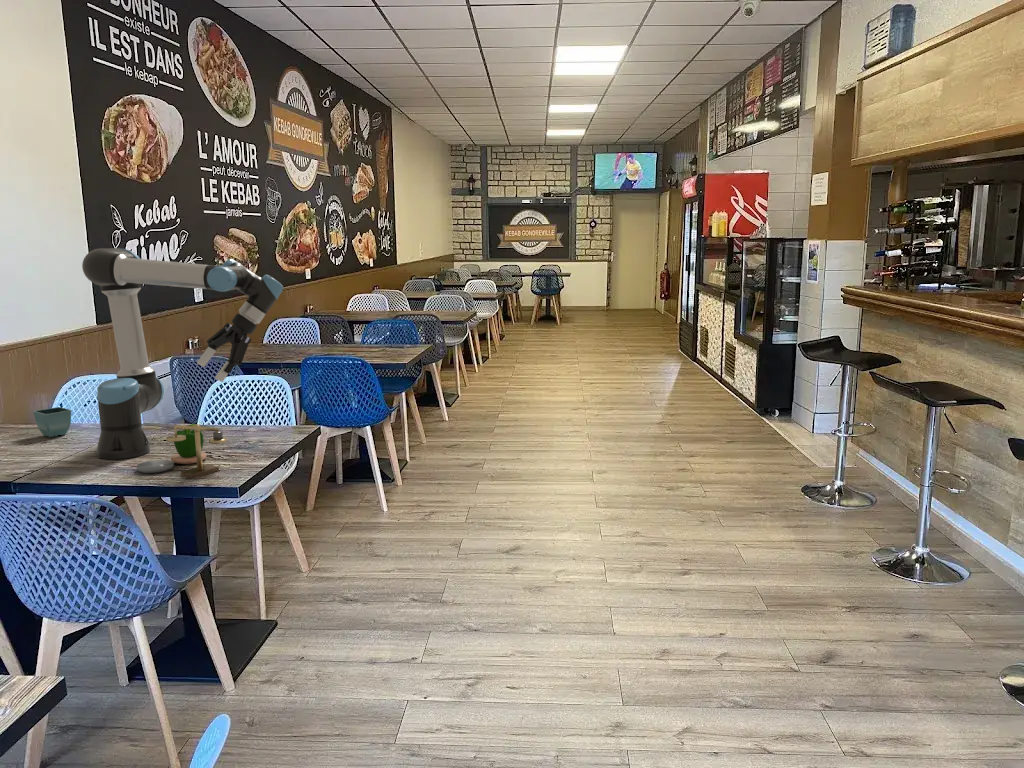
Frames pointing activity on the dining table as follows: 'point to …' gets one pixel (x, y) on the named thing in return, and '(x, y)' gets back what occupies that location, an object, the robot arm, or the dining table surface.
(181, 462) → the terracotta dish
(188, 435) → the bell pepper
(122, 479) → the dining table surface
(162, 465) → the slate dish
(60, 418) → the flower pot
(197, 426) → the brass balance
